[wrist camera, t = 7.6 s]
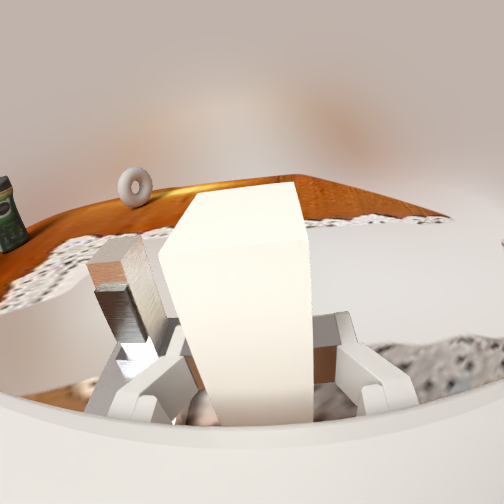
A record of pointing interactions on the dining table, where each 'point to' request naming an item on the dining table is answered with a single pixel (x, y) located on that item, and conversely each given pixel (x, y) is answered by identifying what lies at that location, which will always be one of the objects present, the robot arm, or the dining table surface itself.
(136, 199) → the donut
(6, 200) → the coffee jar
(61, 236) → the dining table surface
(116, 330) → the steel rail
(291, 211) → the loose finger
